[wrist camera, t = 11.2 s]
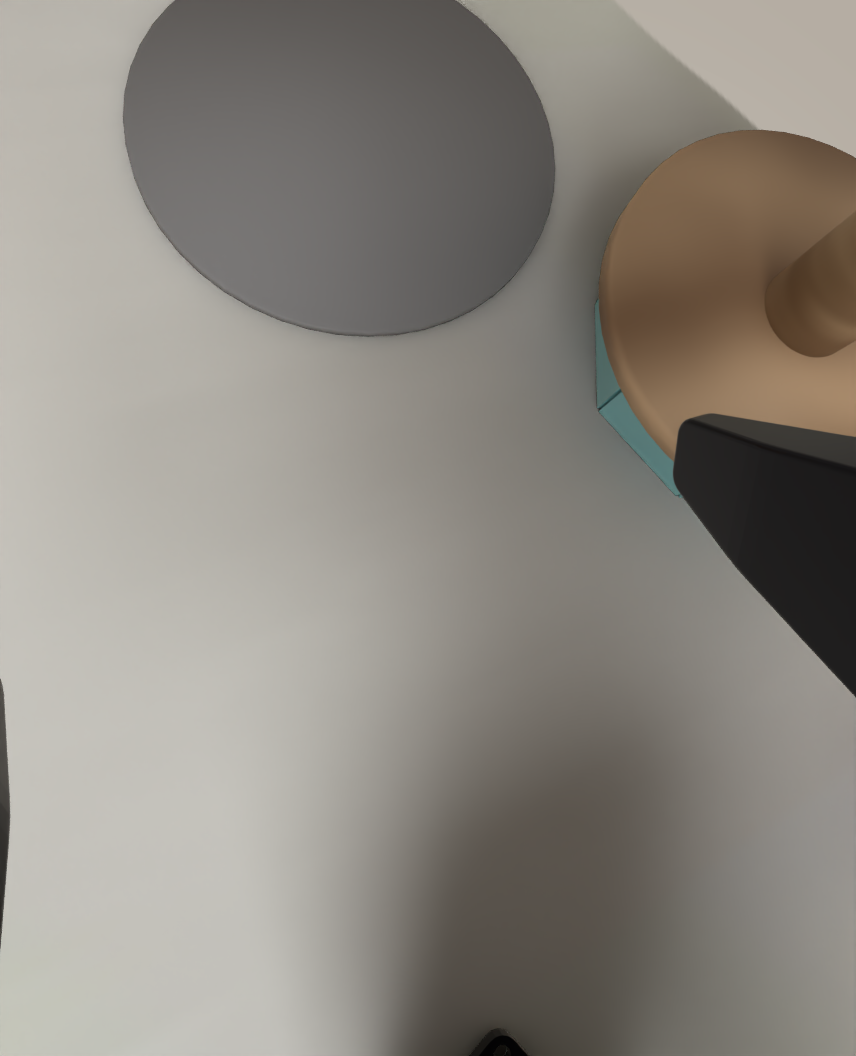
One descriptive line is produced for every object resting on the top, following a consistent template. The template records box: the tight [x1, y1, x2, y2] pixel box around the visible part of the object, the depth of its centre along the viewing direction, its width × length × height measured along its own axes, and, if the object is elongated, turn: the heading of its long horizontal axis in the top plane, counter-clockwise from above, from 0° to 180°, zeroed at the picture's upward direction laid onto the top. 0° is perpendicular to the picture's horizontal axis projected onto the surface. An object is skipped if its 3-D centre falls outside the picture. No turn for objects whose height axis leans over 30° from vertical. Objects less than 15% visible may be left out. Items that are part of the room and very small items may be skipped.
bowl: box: [595, 299, 683, 498], centre depth 25 cm, size 10×10×4 cm
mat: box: [123, 0, 555, 337], centre depth 25 cm, size 15×15×1 cm
